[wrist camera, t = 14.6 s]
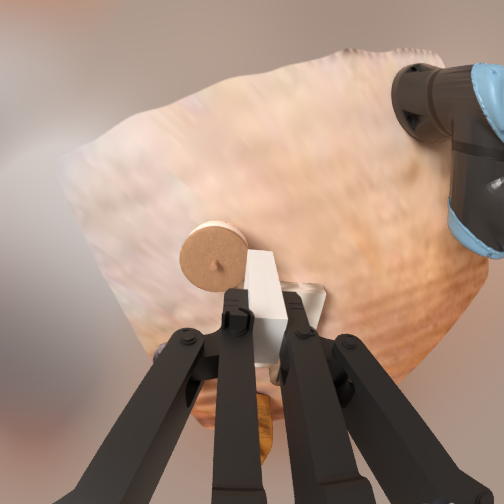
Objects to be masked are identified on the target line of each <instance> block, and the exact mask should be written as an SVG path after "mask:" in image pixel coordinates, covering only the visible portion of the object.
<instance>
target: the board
mask: <svg viewBox="0 0 504 504" xmlns="http://www.w3.org/2000/svg"><path fill="white" fill-rule="evenodd" d="M244 282H245V280H244V281H243V282H242V283H241V284H239V285H238V288H237V289H244ZM280 286H281V290H282V291H292V292H296V293H297V294H298V295H299V296H300V297H301V299H302V302H303V305H304V308H305V309H304V310H305V311H306V315H307V318H308V321H309V324H310V326H311V327H313V328H314V329H315V330H316V328H317V325H318V322H319V318H320V315H321V312H322V308H323V305H324V301H325V298H326V292H325V290H324V287H323V285H322V284H312V283H295V282H280ZM255 367H269V365H268V363H255Z"/></svg>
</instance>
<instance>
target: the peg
mask: <svg viewBox="0 0 504 504" xmlns="http://www.w3.org/2000/svg"><path fill="white" fill-rule="evenodd" d="M268 365H269V375H270V382H271V383H272V384H274V385H276V386H280V379H279V381H278V382H276V378H277V375H278V371H279V367H280V358H279V360H278V364H268Z"/></svg>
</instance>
